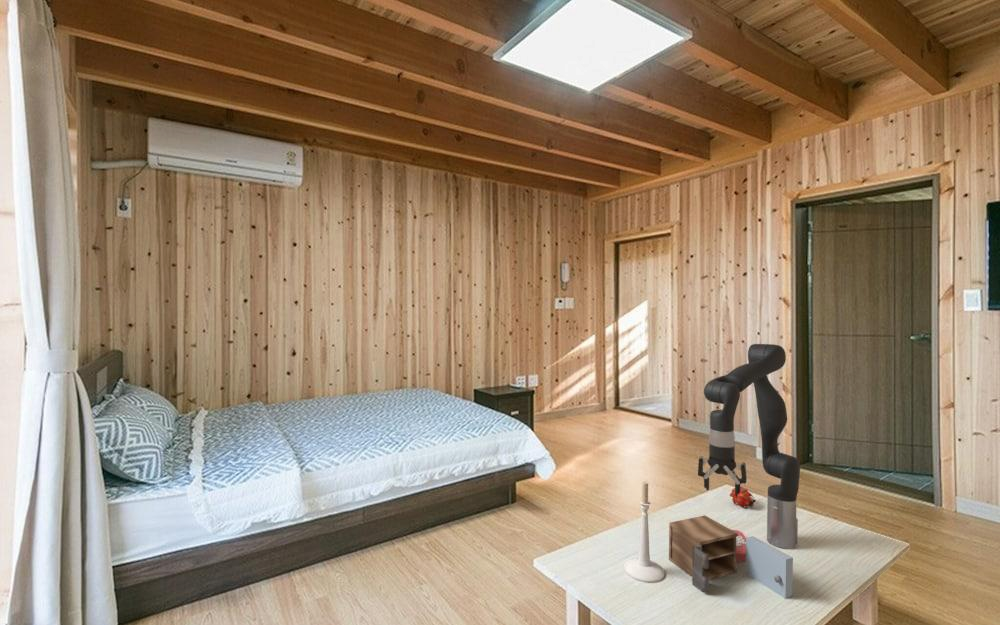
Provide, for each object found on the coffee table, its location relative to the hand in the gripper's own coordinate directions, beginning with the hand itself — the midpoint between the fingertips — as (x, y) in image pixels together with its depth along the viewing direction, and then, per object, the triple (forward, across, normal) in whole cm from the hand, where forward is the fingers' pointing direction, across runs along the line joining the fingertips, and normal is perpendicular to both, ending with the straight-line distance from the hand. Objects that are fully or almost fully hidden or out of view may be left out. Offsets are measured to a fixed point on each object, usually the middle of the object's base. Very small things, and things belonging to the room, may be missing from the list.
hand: (721, 492), depth 152 cm
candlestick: (+27, +22, +12) cm, 37 cm away
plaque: (+28, 0, -19) cm, 34 cm away
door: (+27, -13, -1) cm, 30 cm away
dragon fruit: (+28, -3, -62) cm, 69 cm away
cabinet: (+27, +5, +2) cm, 28 cm away
